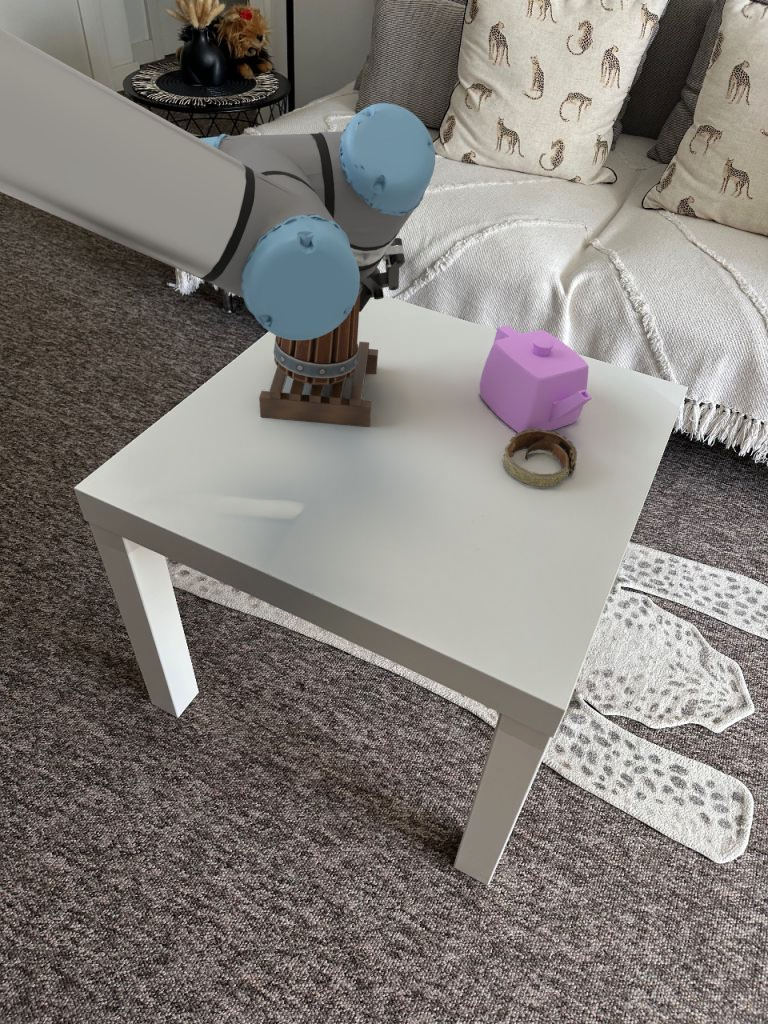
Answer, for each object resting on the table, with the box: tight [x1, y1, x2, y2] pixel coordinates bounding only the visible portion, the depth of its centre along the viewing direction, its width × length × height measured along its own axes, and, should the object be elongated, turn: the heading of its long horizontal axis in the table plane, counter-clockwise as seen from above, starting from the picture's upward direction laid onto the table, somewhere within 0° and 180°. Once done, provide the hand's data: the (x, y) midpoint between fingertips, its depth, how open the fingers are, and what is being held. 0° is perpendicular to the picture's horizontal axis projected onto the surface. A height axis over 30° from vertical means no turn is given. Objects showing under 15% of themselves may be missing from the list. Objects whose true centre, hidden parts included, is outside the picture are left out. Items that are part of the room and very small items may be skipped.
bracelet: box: [502, 429, 578, 488], centre depth 86 cm, size 9×9×3 cm
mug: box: [273, 281, 363, 386], centre depth 87 cm, size 16×11×15 cm
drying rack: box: [258, 341, 379, 428], centre depth 94 cm, size 14×14×4 cm
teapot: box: [479, 324, 593, 433], centre depth 92 cm, size 18×10×10 cm, turn 28°
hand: (316, 304), depth 90 cm, fingers closed on mug, 10 cm apart
